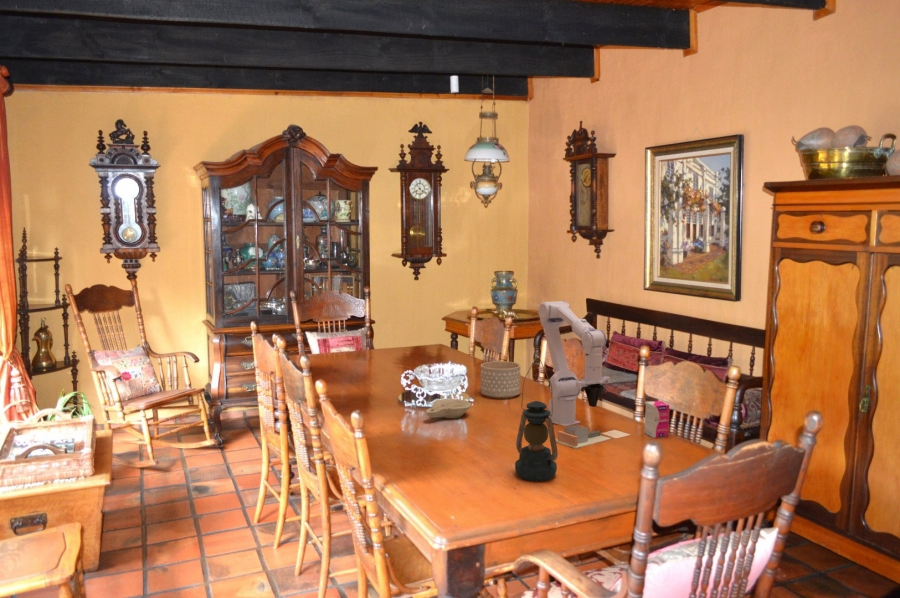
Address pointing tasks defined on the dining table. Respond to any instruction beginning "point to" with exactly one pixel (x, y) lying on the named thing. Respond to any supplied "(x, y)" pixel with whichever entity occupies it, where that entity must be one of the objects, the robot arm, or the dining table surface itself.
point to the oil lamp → (448, 408)
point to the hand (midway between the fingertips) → (592, 406)
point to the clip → (578, 432)
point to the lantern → (536, 442)
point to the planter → (500, 379)
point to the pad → (615, 434)
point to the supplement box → (656, 419)
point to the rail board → (573, 440)
